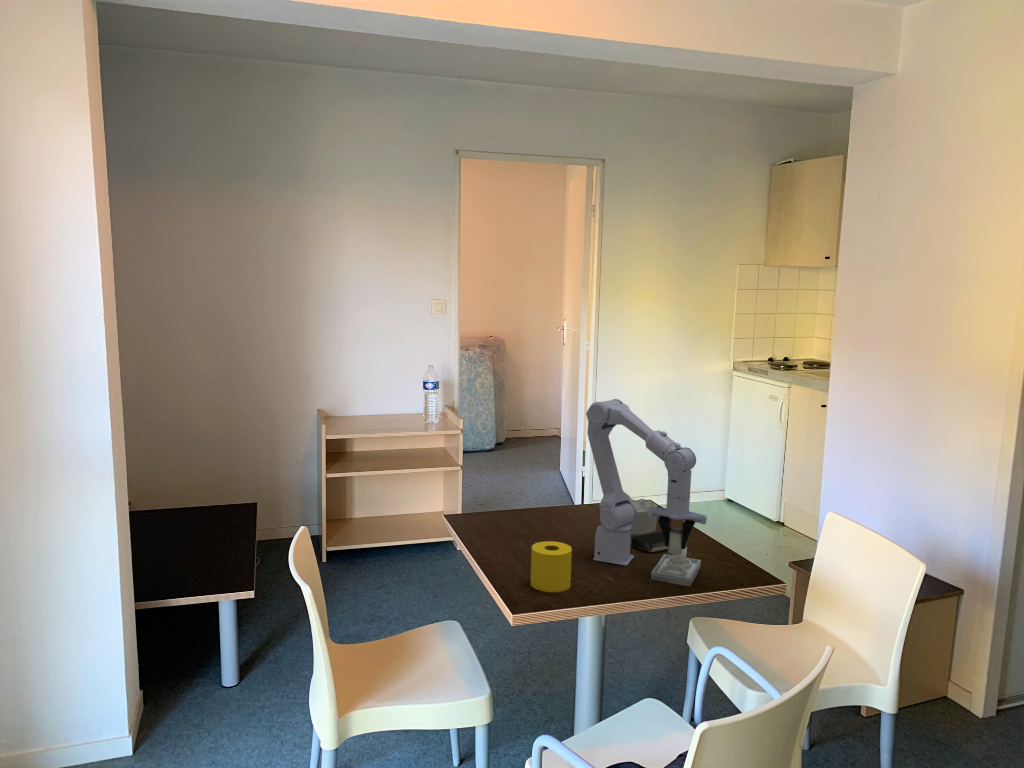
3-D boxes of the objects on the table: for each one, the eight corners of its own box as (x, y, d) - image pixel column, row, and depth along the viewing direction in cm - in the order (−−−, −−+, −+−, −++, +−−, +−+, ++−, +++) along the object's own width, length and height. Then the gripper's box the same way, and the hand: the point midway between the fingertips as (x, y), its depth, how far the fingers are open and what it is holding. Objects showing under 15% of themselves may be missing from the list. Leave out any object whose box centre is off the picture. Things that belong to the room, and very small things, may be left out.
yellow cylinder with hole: (578, 587, 187) (579, 550, 186) (545, 595, 181) (547, 557, 180) (554, 574, 195) (556, 539, 194) (522, 581, 190) (523, 545, 189)
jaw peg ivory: (671, 566, 200) (672, 545, 199) (672, 562, 203) (673, 540, 203) (685, 568, 199) (686, 546, 198) (686, 564, 202) (687, 542, 202)
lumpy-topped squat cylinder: (611, 527, 236) (613, 500, 235) (638, 520, 244) (640, 494, 243) (637, 536, 228) (639, 508, 227) (664, 528, 236) (666, 501, 235)
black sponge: (647, 556, 211) (647, 543, 211) (628, 546, 219) (628, 534, 218) (690, 548, 219) (691, 535, 219) (670, 539, 227) (671, 527, 226)
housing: (651, 579, 193) (651, 571, 193) (663, 561, 207) (664, 553, 207) (690, 586, 189) (690, 578, 189) (700, 567, 203) (701, 559, 203)
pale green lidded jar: (666, 553, 193) (667, 530, 192) (670, 549, 196) (671, 526, 196) (680, 555, 192) (681, 532, 191) (683, 551, 195) (685, 529, 194)
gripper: (646, 495, 192) (644, 546, 193) (704, 503, 186) (701, 556, 187) (653, 489, 198) (650, 538, 200) (709, 496, 192) (706, 547, 194)
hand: (675, 546), depth 194 cm, fingers closed on pale green lidded jar, 4 cm apart
